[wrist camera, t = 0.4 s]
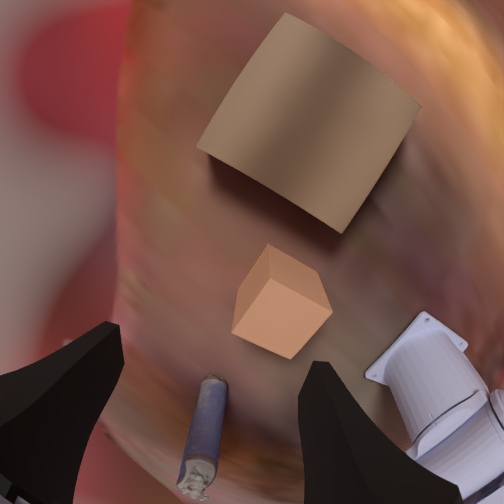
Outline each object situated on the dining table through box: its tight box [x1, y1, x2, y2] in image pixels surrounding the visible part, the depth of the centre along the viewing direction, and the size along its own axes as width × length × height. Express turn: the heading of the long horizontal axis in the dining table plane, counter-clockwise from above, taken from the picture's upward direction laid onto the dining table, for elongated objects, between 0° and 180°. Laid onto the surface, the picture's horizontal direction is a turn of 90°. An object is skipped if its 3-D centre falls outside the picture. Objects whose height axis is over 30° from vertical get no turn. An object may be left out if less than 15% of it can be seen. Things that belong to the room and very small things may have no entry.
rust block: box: [231, 244, 333, 360], centre depth 17 cm, size 4×4×5 cm
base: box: [196, 12, 422, 234], centre depth 14 cm, size 9×9×3 cm
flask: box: [176, 375, 228, 501], centre depth 20 cm, size 9×3×11 cm, turn 163°
